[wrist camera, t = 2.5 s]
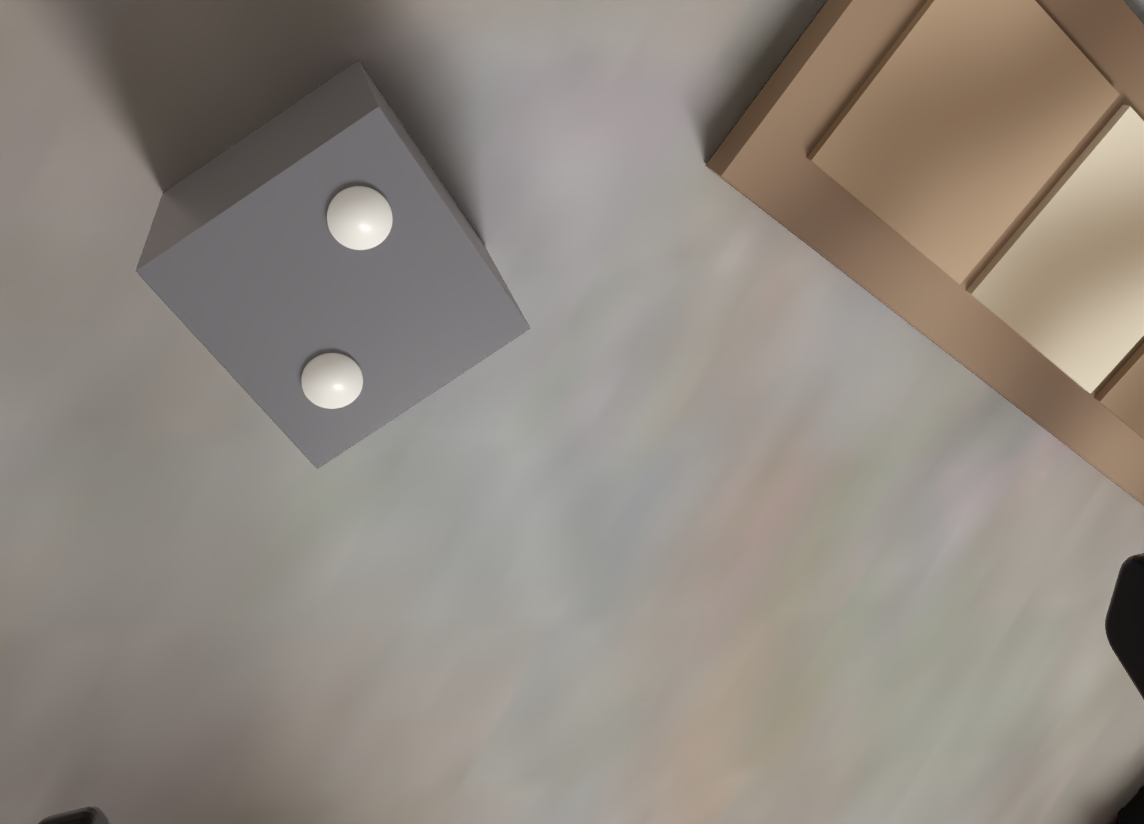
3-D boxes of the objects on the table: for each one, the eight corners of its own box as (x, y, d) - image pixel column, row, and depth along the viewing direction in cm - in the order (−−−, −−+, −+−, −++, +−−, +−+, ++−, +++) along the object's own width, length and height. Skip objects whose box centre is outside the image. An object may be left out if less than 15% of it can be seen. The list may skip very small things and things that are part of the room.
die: (309, 363, 19) (317, 471, 16) (163, 191, 17) (135, 273, 14) (484, 246, 19) (531, 330, 16) (358, 59, 17) (379, 107, 14)
